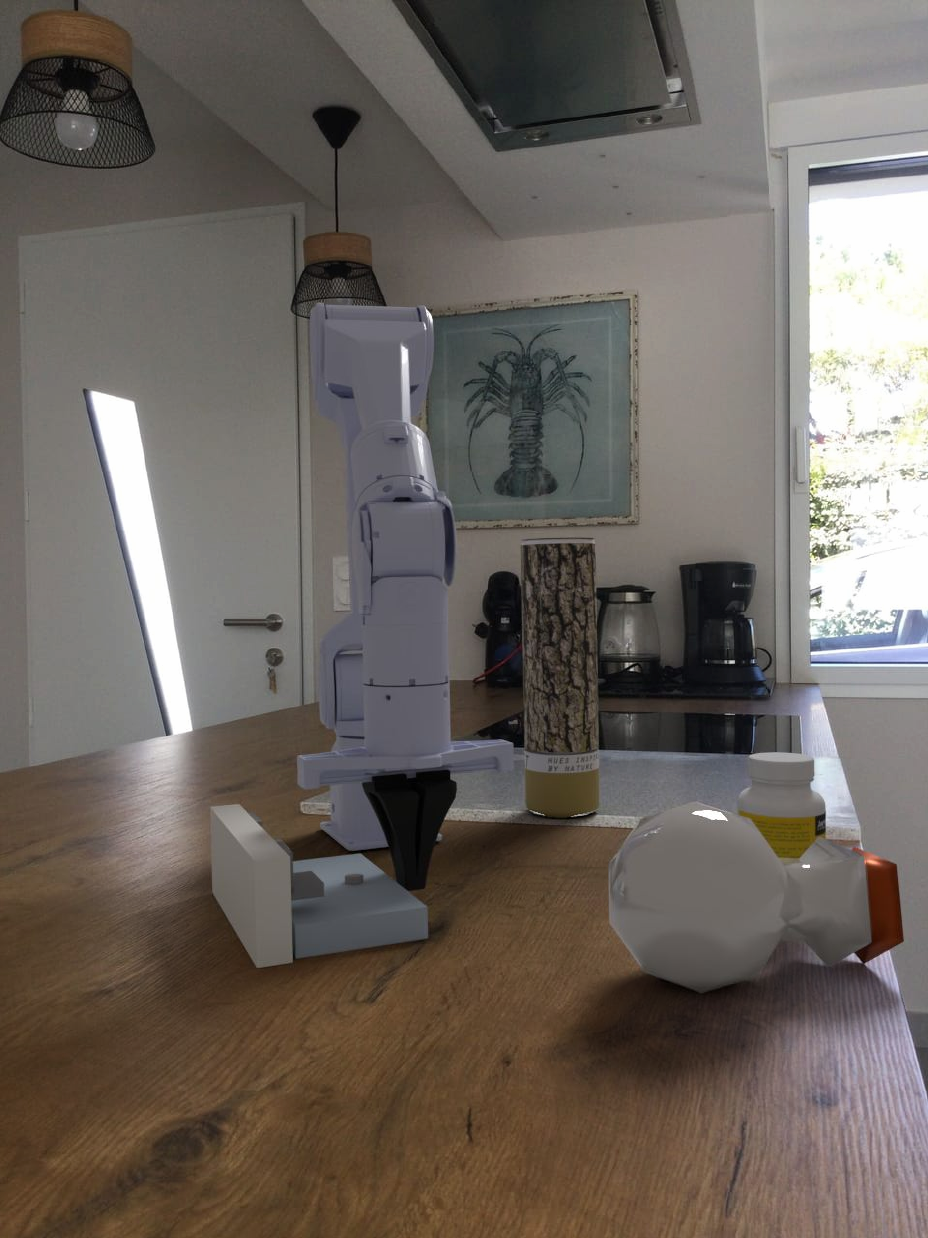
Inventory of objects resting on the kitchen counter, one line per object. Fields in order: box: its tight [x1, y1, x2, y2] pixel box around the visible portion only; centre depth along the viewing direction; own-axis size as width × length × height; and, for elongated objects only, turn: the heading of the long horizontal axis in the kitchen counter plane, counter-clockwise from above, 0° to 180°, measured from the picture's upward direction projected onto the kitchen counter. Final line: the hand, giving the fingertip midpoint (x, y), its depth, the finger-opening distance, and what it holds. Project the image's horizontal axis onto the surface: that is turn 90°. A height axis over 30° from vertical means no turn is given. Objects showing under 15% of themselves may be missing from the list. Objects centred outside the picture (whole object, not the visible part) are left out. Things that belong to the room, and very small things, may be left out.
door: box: [291, 852, 429, 959], centre depth 68 cm, size 14×8×3 cm, turn 22°
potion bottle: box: [608, 801, 905, 994], centre depth 56 cm, size 9×10×15 cm
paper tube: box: [520, 537, 600, 819], centre depth 97 cm, size 7×7×25 cm
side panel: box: [209, 803, 324, 969], centre depth 67 cm, size 16×4×6 cm, turn 22°
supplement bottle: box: [736, 751, 827, 858], centre depth 67 cm, size 5×5×10 cm
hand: (410, 886), depth 70 cm, fingers closed
